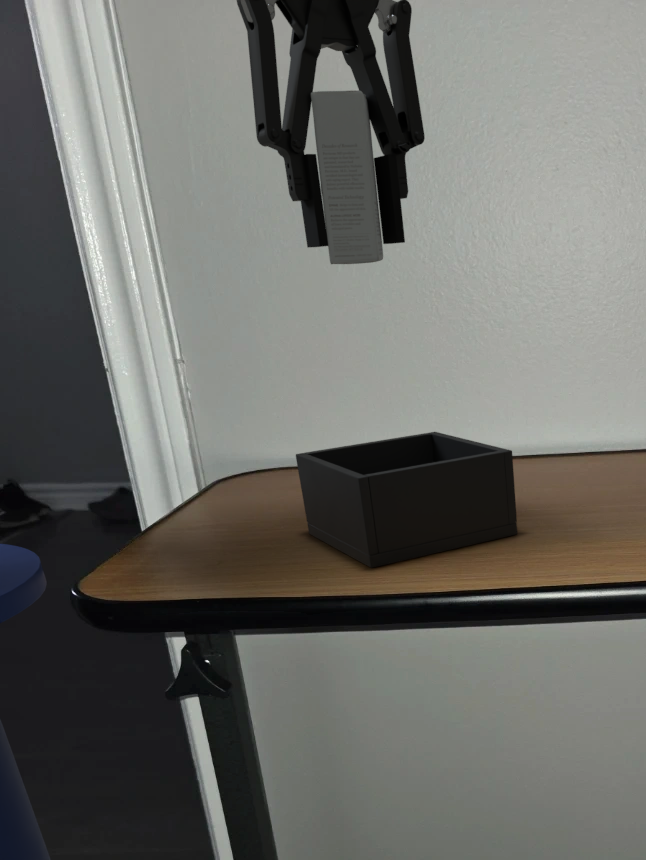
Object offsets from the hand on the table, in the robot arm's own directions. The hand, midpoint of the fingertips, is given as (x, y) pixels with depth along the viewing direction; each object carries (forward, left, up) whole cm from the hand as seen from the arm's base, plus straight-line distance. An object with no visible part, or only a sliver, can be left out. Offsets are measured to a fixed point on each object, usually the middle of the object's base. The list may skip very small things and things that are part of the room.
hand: (356, 244), depth 79 cm
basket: (-2, -10, -23) cm, 25 cm away
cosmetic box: (0, 0, -2) cm, 2 cm away
